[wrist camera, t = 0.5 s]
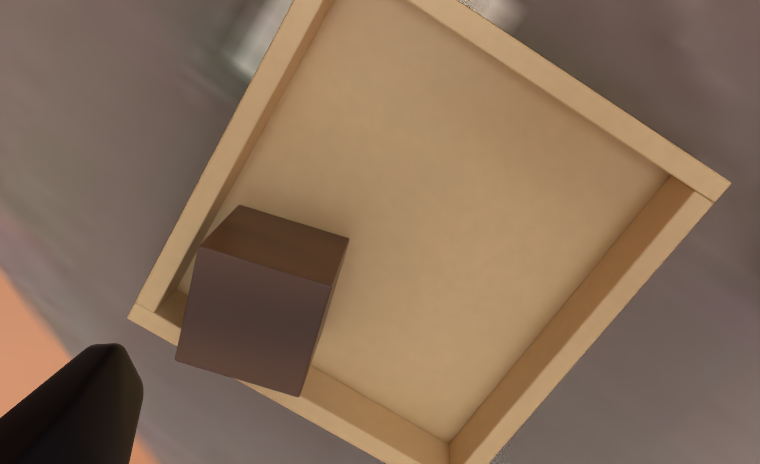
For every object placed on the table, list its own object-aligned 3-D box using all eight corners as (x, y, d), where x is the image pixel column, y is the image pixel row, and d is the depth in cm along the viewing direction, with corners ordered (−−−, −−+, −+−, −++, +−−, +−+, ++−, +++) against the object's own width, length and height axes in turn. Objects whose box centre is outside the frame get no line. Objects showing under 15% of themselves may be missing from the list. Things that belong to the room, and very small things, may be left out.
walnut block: (320, 335, 26) (299, 399, 22) (216, 303, 26) (173, 360, 21) (350, 237, 24) (332, 286, 20) (238, 203, 24) (197, 245, 20)
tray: (453, 455, 28) (455, 503, 25) (157, 287, 26) (126, 318, 24) (698, 162, 23) (732, 183, 20) (347, -71, 21) (335, -81, 18)
